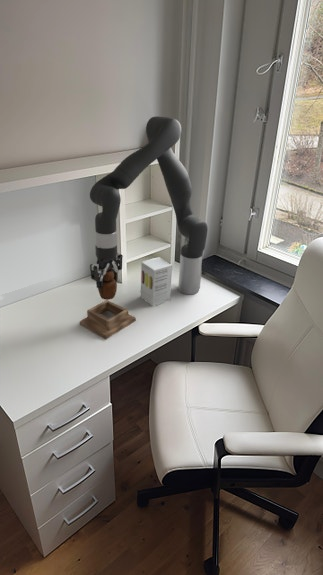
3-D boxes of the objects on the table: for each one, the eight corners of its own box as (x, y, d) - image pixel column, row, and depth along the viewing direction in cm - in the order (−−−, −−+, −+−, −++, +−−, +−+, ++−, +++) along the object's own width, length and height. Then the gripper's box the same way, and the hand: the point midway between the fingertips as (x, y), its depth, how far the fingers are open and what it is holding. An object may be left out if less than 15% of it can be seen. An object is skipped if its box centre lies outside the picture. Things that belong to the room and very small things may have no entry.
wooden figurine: (99, 302, 149) (98, 265, 141) (97, 294, 153) (96, 258, 146) (118, 300, 150) (117, 263, 143) (115, 292, 155) (114, 256, 148)
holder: (109, 307, 166) (109, 296, 164) (135, 320, 159) (135, 308, 156) (79, 324, 155) (79, 312, 153) (106, 339, 148) (105, 326, 145)
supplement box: (139, 296, 175) (140, 261, 167) (157, 290, 180) (158, 256, 172) (152, 306, 169) (154, 270, 160) (170, 300, 173) (172, 264, 165)
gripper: (113, 234, 148) (113, 275, 156) (83, 246, 138) (85, 288, 146) (128, 240, 144) (128, 281, 152) (98, 252, 134) (100, 296, 142)
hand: (107, 285), depth 149 cm, fingers closed on wooden figurine, 6 cm apart
